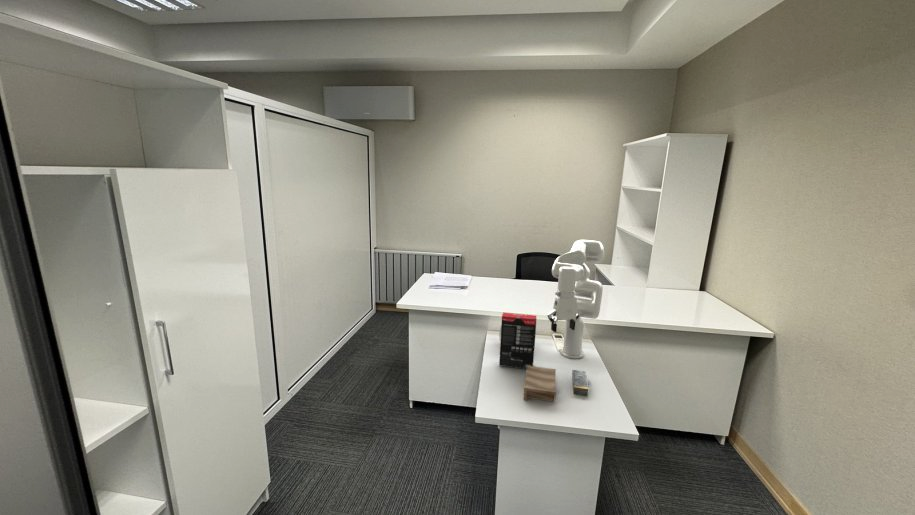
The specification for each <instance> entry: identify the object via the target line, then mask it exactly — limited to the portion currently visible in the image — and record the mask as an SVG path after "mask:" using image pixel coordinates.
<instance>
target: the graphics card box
mask: <svg viewBox="0 0 915 515" xmlns="http://www.w3.org/2000/svg"><path fill="white" fill-rule="evenodd" d="M500 327H501V341H499V342H500V345H499V346H500V348H499V361H498V362H499V366H501V367H508V368H515V369H523V370H527V366H534V359H535V358H534V357H535V345H536V335H537V332H536V331H537V330H536V329H537V315H533V314H522V313H515V312H514V313H511V312H502V314H501V325H500Z"/></svg>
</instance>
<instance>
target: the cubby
mask: <svg viewBox="0 0 915 515" xmlns="http://www.w3.org/2000/svg"><path fill="white" fill-rule="evenodd" d="M556 371H557V370H556V369H555V368H548V367H542V366H541V367H540V366H535V365H533V366H527V369H526V373H525V374H526V375H525V380H524V384H523V385H524V386H523V401H526V402H527V399H528V398H529V399H535V400H541V401H548V402H556V401H555V399H556V391H557V390H556V388H557V387H556V385H557V383H556V382H557V380H556V379H557V376H556V373H557V372H556Z"/></svg>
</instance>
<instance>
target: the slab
mask: <svg viewBox="0 0 915 515" xmlns="http://www.w3.org/2000/svg"><path fill="white" fill-rule="evenodd" d="M571 371H572V372H571V381H572V392H573V393H572V394H573V395H577V396H585V397H589V384H588V378H587V373H586V371H585V370H579V369H572V370H571Z"/></svg>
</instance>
